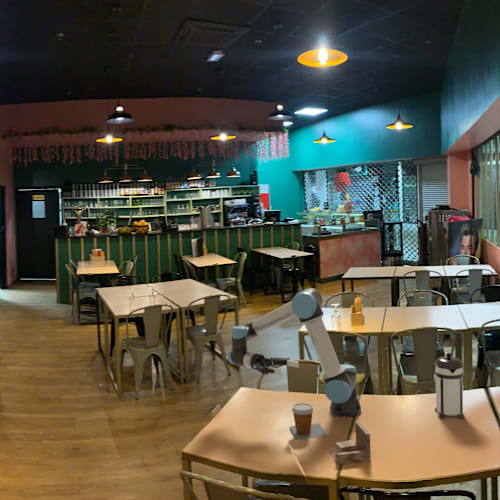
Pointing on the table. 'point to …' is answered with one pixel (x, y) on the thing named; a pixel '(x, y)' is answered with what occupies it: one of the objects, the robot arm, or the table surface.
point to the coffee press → (449, 386)
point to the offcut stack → (346, 446)
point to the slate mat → (315, 432)
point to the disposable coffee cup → (303, 418)
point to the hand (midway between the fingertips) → (289, 368)
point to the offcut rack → (362, 447)
